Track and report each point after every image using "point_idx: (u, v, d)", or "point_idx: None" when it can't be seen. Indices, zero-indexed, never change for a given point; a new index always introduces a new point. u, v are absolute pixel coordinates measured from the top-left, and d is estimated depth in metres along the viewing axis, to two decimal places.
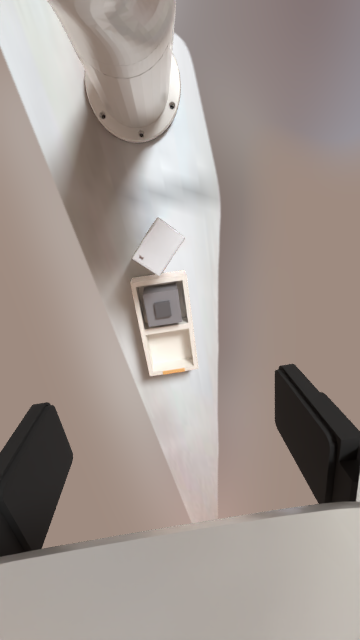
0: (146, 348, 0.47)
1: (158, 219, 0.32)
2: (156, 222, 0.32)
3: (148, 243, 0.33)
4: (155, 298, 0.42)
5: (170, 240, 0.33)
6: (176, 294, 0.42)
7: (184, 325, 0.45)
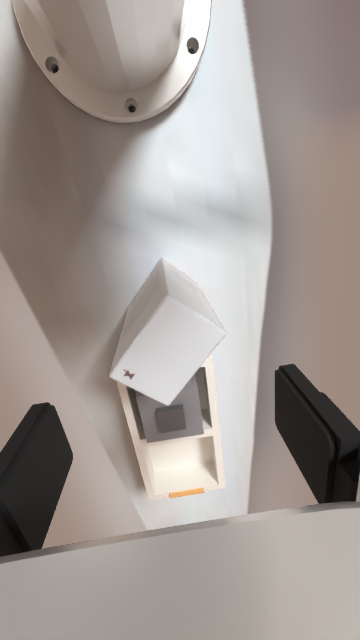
0: (143, 465, 0.29)
1: (168, 298, 0.14)
2: (163, 304, 0.14)
3: (144, 347, 0.14)
4: (158, 402, 0.24)
5: (194, 341, 0.14)
6: (195, 394, 0.24)
7: (206, 431, 0.28)
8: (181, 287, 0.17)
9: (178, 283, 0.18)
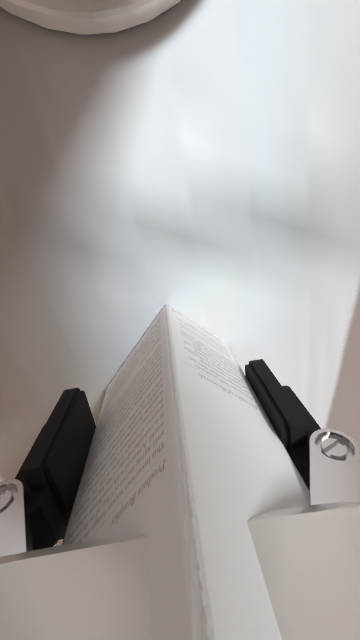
0: None
1: None
2: None
3: None
4: None
5: None
6: None
7: None
8: (223, 430, 0.06)
9: (212, 408, 0.07)
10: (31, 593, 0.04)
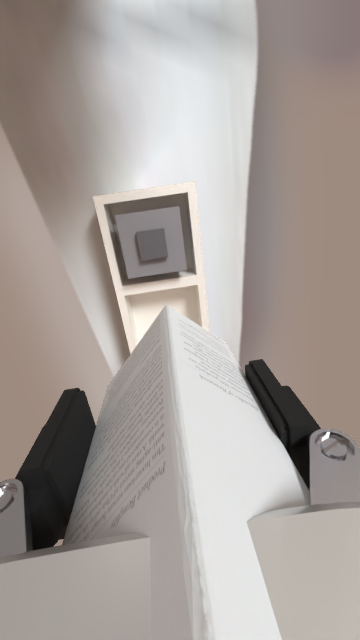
0: (126, 319, 0.28)
1: None
2: None
3: None
4: (138, 223, 0.23)
5: None
6: (176, 216, 0.23)
7: (190, 279, 0.27)
8: (223, 432, 0.06)
9: (212, 410, 0.07)
10: (31, 593, 0.04)
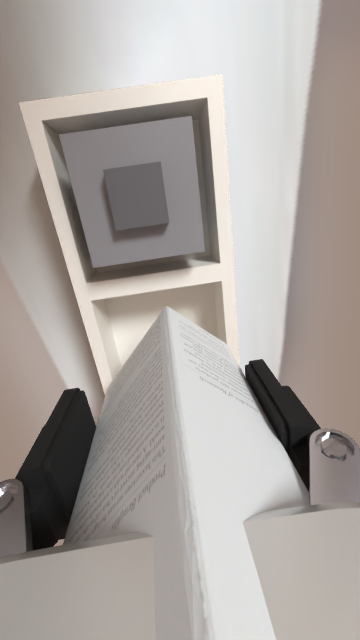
0: (96, 341, 0.16)
1: None
2: None
3: None
4: (109, 153, 0.11)
5: None
6: (187, 138, 0.11)
7: (208, 271, 0.15)
8: (224, 435, 0.06)
9: (212, 412, 0.07)
10: (31, 593, 0.04)
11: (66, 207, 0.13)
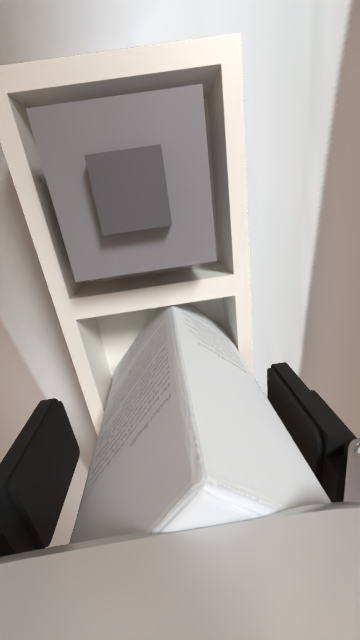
0: (83, 367, 0.13)
1: (204, 492, 0.04)
2: (189, 508, 0.04)
3: None
4: (93, 134, 0.09)
5: None
6: (195, 114, 0.09)
7: (219, 283, 0.12)
8: (216, 378, 0.08)
9: (207, 364, 0.09)
10: (31, 593, 0.04)
11: (43, 205, 0.11)
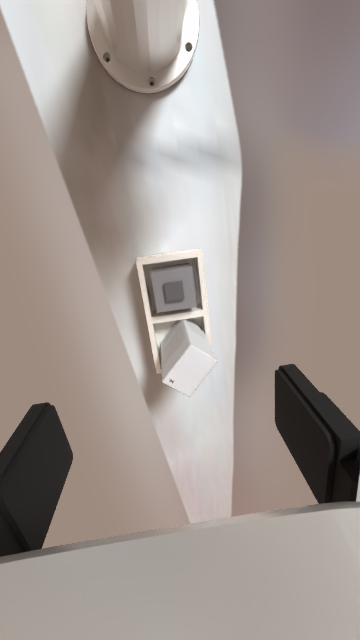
0: (153, 340, 0.39)
1: (190, 346, 0.30)
2: (188, 348, 0.30)
3: (179, 368, 0.31)
4: (165, 277, 0.35)
5: (202, 365, 0.31)
6: (190, 273, 0.35)
7: (198, 312, 0.39)
8: (195, 337, 0.34)
9: (193, 334, 0.35)
10: (31, 593, 0.04)
11: (146, 290, 0.37)
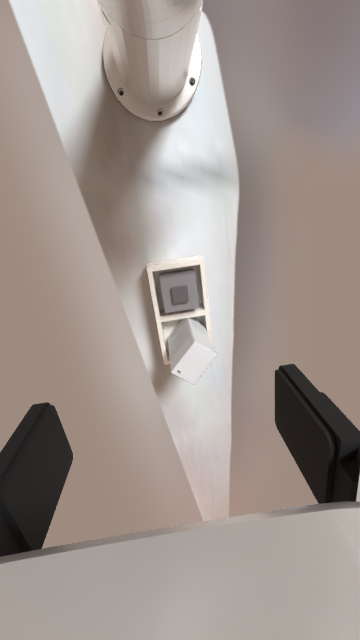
0: (161, 336, 0.45)
1: (195, 342, 0.36)
2: (193, 345, 0.36)
3: (185, 361, 0.37)
4: (172, 283, 0.41)
5: (204, 358, 0.37)
6: (194, 279, 0.41)
7: (200, 312, 0.44)
8: (198, 334, 0.40)
9: (196, 331, 0.41)
10: (31, 593, 0.04)
11: (156, 293, 0.43)
